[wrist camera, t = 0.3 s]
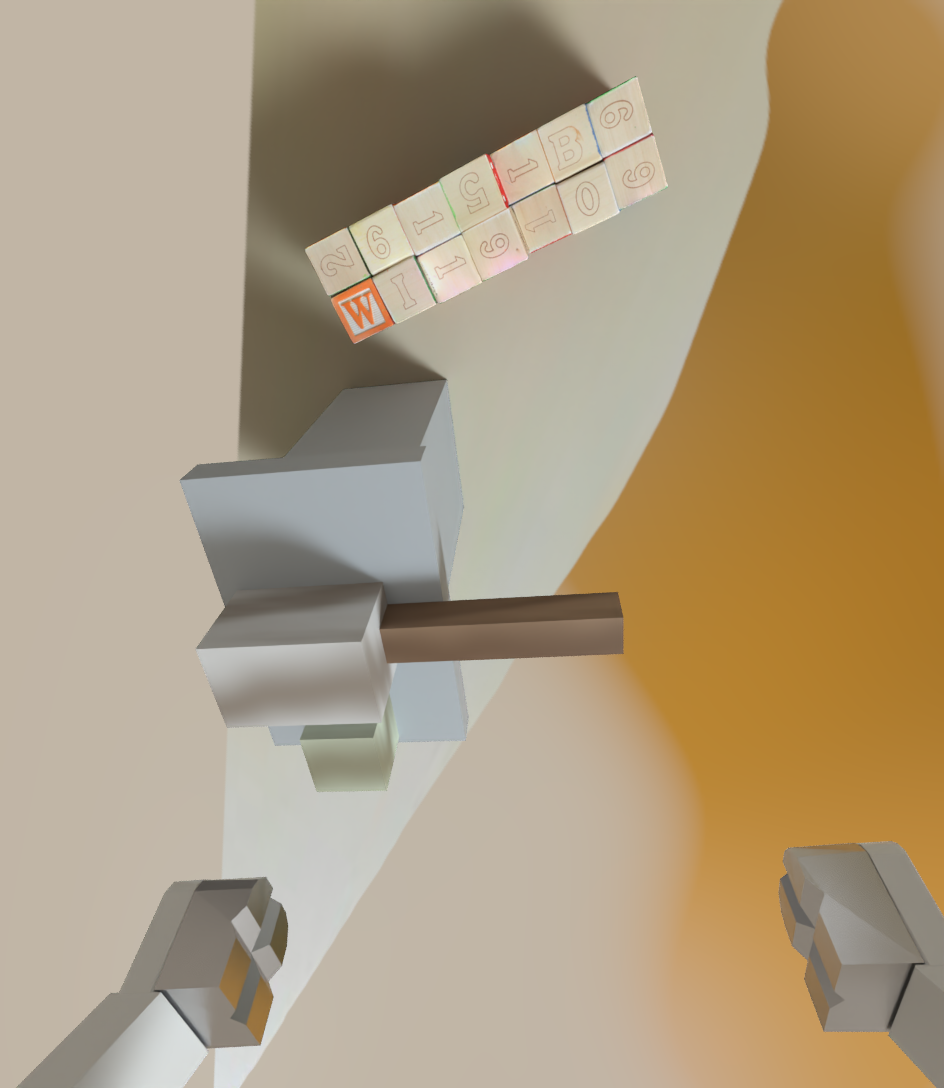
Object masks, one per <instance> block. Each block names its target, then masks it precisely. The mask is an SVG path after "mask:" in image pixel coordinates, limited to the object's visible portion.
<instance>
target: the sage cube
mask: <svg viewBox="0 0 944 1088" xmlns="http://www.w3.org/2000/svg"><path fill="white" fill-rule="evenodd" d="M398 740H399V733H398V728H397V724H396V720H395V715H394V711H393V707H392V702H391V698H390V694H389V696H388V700H387V704H386V707H385V711H384V715H383V718H382V722H381V723H365V724H331V725H305V728H304V730H303V733H302V735H301V738H300V743H301V746H302V749H303V752H304V755H305V758H306V761H307V764H308V767H309V770H310V773H311V776H312V779H313V782H314V785H315V788H316V791H317V792H337V791H387V788H388V783H389V779H390V775H391V770H392V766H393V761H394V757H395V753H396V748H397V744H398Z"/></svg>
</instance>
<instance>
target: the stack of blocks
mask: <svg viewBox="0 0 944 1088" xmlns="http://www.w3.org/2000/svg"><path fill="white" fill-rule="evenodd" d="M667 187H668V185H667V181H666V178H665V174H664V170H663V167H662V163H661V159H660V156H659V152H658V148H657V145H656V141H655V137H654V135H653V133H652V130H651V126H650V122H649V118H648V114H647V111H646V107H645V104H644V100H643V96H642V93H641V89H640V85H639V82H638V79H637V77H636V76H635V77H633V78H631V79H629V80H628V81H626V82H624V83H622V84H620V85H618V86H617V87H615V88H613V89H611V90H609V91H607V92H605V93H604V94H602V95H600V96H598V97H596V98H595V99H593V100H591V101H590V102H588V103H585V104H582V105H580V106H578V107H576V108H574V109H572V110H571V111H569V112H567V113H565V114H563V115H561V116H560V117H558V118H556V119H554V120H552V121H550V122H548V123H546V124H545V125H543V126H541V127H539V128H537V129H535V130H533V131H531V132H529V133H528V134H526V135H524V136H522V137H520V138H518V139H516V140H515V141H513V142H511V143H510V144H508V145H506V146H504V147H502V148H500V149H499V150H497V151H495V152H493V153H492V154H491V155H489V154H483V155H481V156H480V157H478V158H476V159H474V160H472V161H470V162H469V163H467V164H465V165H463V166H461V167H460V168H458V169H456V170H454V171H453V172H451V173H449V174H447V175H445V176H444V177H442V178H440V179H439V181H438V182H436V183H434V184H432V185H430V186H429V187H427V188H425V189H423V190H421V191H419V192H417V193H416V194H414V195H412V196H410V197H408V198H406V199H404V200H403V201H401V202H399V203H393V204H390V205H388V206H386V207H384V208H382V209H380V210H378V211H377V212H375V213H373V214H371V215H369V216H367V217H365V218H363V219H361V220H360V221H358V222H356V223H354V224H352V225H350V226H349V227H345V228H343V229H341V230H339V231H337V232H335V233H333V234H331V235H329V236H328V237H326V238H324V239H322V240H320V241H318V242H316V243H314V244H312V245H310V246H308V247H307V248H305V252H306V254H307V256H308V258H309V260H310V261H311V263H312V265H313V267H314V269H315V271H316V273H317V275H318V277H319V279H320V281H321V283H322V285H323V287H324V289H325V291H326V293H327V295H328V296H331V302H332V304H333V306H334V308H335V310H336V312H337V314H338V316H339V318H340V320H341V322H342V324H343V325H344V327H345V329H346V331H347V333H348V335H349V337H350V339H351V340H352V342H353V343H354V344H355V343H358V342H360V341H362V340H364V339H366V338H368V337H370V336H372V335H374V334H376V333H378V332H380V331H382V330H384V329H387V328H389V327H391V326H392V325H394V324H399V323H401V322H403V321H405V320H407V319H409V318H410V317H412V316H414V315H416V314H418V313H420V312H422V311H424V310H426V309H428V308H430V307H432V306H434V305H435V304H437V303H443V302H445V301H447V300H450V299H451V298H453V297H455V296H457V295H459V294H461V293H463V292H465V291H467V290H469V289H471V288H473V287H475V286H477V285H479V284H480V283H482V282H483V281H485V280H488V279H490V278H492V277H494V276H496V275H498V274H500V273H502V272H504V271H506V270H508V269H510V268H512V267H514V266H516V265H517V264H519V263H521V262H523V261H526V260H527V259H528V257H529V254H530V253H533V252H535V251H537V250H539V249H541V248H543V247H545V246H547V245H549V244H551V243H554V242H556V241H558V240H560V239H562V238H564V237H566V236H568V235H571V234H574V235H575V234H577V233H579V232H581V231H583V230H585V229H588V228H590V227H592V226H594V225H596V224H598V223H600V222H602V221H604V220H606V219H608V218H610V217H613V216H615V215H617V214H619V212H620V210H622V209H624V208H626V207H628V206H630V205H632V204H635V203H637V202H639V201H641V200H643V199H645V198H647V197H649V196H651V195H653V194H656V193H658V192H660V191H662V190H664V189H666V188H667Z"/></svg>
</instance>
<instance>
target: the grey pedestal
mask: <svg viewBox="0 0 944 1088" xmlns="http://www.w3.org/2000/svg"><path fill="white" fill-rule="evenodd" d="M180 483H181V486H182V489H183V491H184V494H185V497H186V500H187V503H188V505H189V508H190V511H191V514H192V516H193V519H194V522H195V525H196V527H197V530H198V533H199V536H200V539H201V541H202V544H203V547H204V550H205V552H206V555H207V558H208V561H209V564H210V566H211V569H212V572H213V575H214V578H215V580H216V583H217V586H218V589H219V591H220V594H221V597H222V599H223V602H224V605H225V607H226V605H227V604H228V603H229V601H230V600H231V598H232V597H233V595H234V594H235V593H236V591H237V590H251V589H269V588H287V587H304V586H322V585H339V584H357V583H374V582H383V585H384V590H385V595H386V599H387V604H401V603H420V602H439V601H450V595H449V588H448V586H449V581H450V576H451V571H452V566H453V561H454V555H455V550H456V545H457V540H458V535H459V529H460V524H461V519H462V514H463V509H464V505H463V498H462V490H461V483H460V475H459V468H458V460H457V452H456V445H455V437H454V430H453V422H452V415H451V407H450V400H449V392H448V385H447V380H436V381H425V382H415V383H404V384H394V385H383V386H372V387H362V388H351V389H343V390H342V391H341V393H340V394H339V395H338V396H337V397H336V398H335V399H334V401H333V402H332V403H331V404H330V405H329V406H328V407H327V409H326V410H325V411H324V412H323V413H322V414H321V415H320V416H319V418H318V419H317V420H316V421H315V422H314V423H313V424H312V426H311V427H310V428H309V429H308V430H307V431H306V432H305V434H304V435H303V436H302V437H301V438H300V439H299V440H298V442H297V443H296V444H295V445H294V446H293V447H292V448H291V450H290V451H289V452H288V453H287V454H286V455H285V456H284V458H272V459H260V460H248V461H236V462H224V463H211V464H200V465H197V466H196V467H194V468H193V469H192V470H191V471H190V472H189V473H187V474H186V475H185V476H184V477H183V478H182V479H180ZM389 694H390V698H391V702H392V707H393V711H394V715H395V720H396V724H397V728H398V733H399V740H398V742H429V741H465V740H466V734H467V725H468V710H467V704H466V698H465V691H464V685H463V678H462V672H461V665H460V661H437V662H412V663H397V666H396V670H395V674H394V678H393V681H392V685H391V689H390V692H389ZM268 728H269V730H270V733H271V736H272V739H273V741H274V744H275V746H278V745H301V743H300V738H301V735H302V733H303V730H304V728H305V725H298V726H268Z"/></svg>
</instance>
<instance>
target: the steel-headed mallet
mask: <svg viewBox="0 0 944 1088" xmlns="http://www.w3.org/2000/svg"><path fill="white" fill-rule="evenodd" d="M196 652H197V654H198V657H199V659H200V661H201V664H202V667H203V669H204V671H205V674H206V677H207V679H208V682H209V684H210V687H211V689H212V692H213V694H214V696H215V699H216V702H217V704H218V707H219V709H220V712H221V714H222V716H223V719H224V721H225V724H226V726H227V728H232V727H265V726H298V725H331V724H365V723H381V722H382V718H383V715H384V711H385V707H386V704H387V700H388V696H389V692H390V689H391V685H392V681H393V678H394V674H395V670H396V666H397V663H412V662H437V661H461V660H485V659H509V658H532V657H557V656H581V655H606V654H623V614H622V609H621V605H620V600H619V596H618V592H610V593H592V594H572V595H553V596H534V597H515V598H496V599H477V600H458V601H439V602H420V603H401V604H387V599H386V595H385V590H384V585H383V582H374V583H357V584H339V585H322V586H304V587H287V588H269V589H251V590H237V591H236V593H235V594H234V595H233V597H232V598H231V600H230V601H229V603H228V604H227V605H226V607H225V608H224V610H223V611H222V613H221V614H220V615H219V617H218V618H217V619H216V621H215V622H214V624H213V625H212V627H211V628H210V629H209V631H208V633H207V634H206V635H205V636H204V638H203V639H202V641H201V642H200V644H199V645H198V646H197V648H196Z"/></svg>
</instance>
